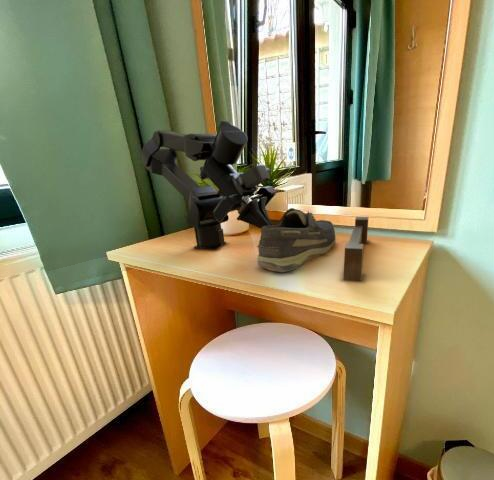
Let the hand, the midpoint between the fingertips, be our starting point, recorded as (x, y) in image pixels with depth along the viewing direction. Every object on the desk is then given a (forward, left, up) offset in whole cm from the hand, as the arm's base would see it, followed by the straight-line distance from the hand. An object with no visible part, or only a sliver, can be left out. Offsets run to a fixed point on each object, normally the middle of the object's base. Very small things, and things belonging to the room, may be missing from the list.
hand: (271, 230), depth 69 cm
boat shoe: (+6, +4, -7) cm, 10 cm away
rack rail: (+18, +4, -7) cm, 20 cm away
